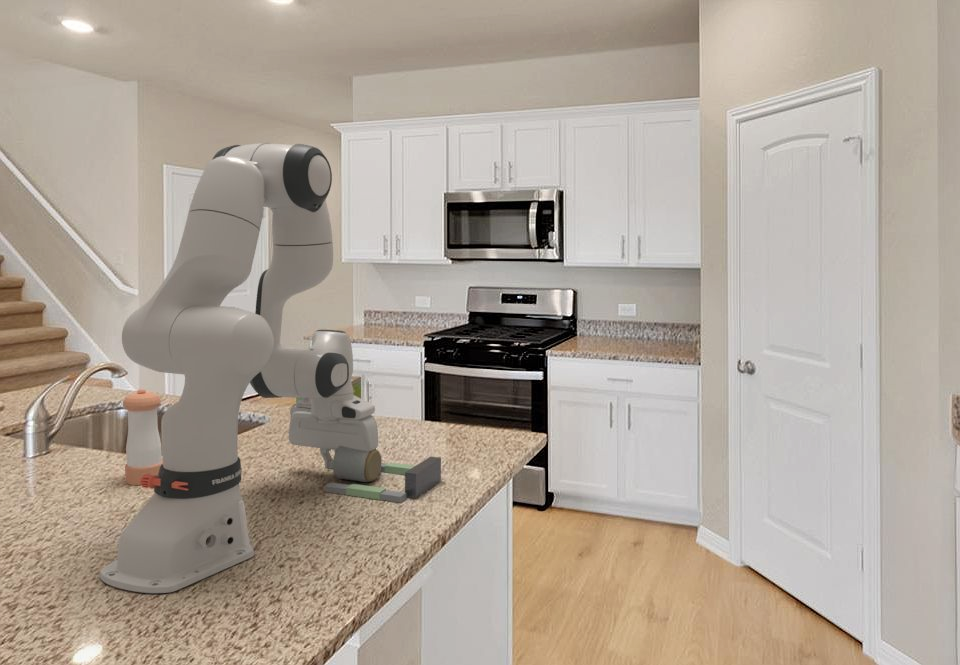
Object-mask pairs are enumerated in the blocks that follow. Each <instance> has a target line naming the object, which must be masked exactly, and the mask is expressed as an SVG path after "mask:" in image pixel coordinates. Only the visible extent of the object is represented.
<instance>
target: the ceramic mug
mask: <svg viewBox="0 0 960 665" xmlns="http://www.w3.org/2000/svg"><path fill="white" fill-rule="evenodd" d="M333 459H334V460H333V474H334V476H335V477H336V478H337V479H340V480H346V481H348V480H349V481H353V482H355V481H356V482H360V483H361V482H363V483H370V482H373V481H374V480H376V479H377V477H378V476H379V474H380V473H381V472H380V471H381V463H382V456H381V453H380V450H378V449H377V448H376V449H374V450H372V451H370V452H366V451H363V450H357V449H353V448H348V447H344V446H339V447H338V448H337V450H336V452H335V451H334V455H333Z"/></svg>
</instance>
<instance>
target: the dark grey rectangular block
mask: <svg viewBox="0 0 960 665" xmlns="http://www.w3.org/2000/svg"><path fill="white" fill-rule="evenodd" d="M414 466H415V467H413V468H411V469H410V470H408V471H407V472H405V475H404V486H405V487H404V493H406V498H407V497H408V498H407V499H414V498H417V499H418V498H420V497H421V496H422V495H423V494H425V493H426V492H428V491H429V490H430V489H431V487H432V486H433V487H435V486H436V485H437V484H439V483H440V482H441V481H442V457H440V456H439V457H437V456H429V457H427V458H426V459H424V460H422V461H421V462H419V463H418V464H416V465H414ZM439 481H440V482H439ZM438 482H439V483H438ZM435 484H436V485H435ZM434 485H435V486H434ZM433 487H432V488H433ZM428 489H429V490H428ZM427 490H428V491H427ZM424 492H425V493H424ZM421 494H422V495H421ZM420 495H421V496H420Z"/></svg>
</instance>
